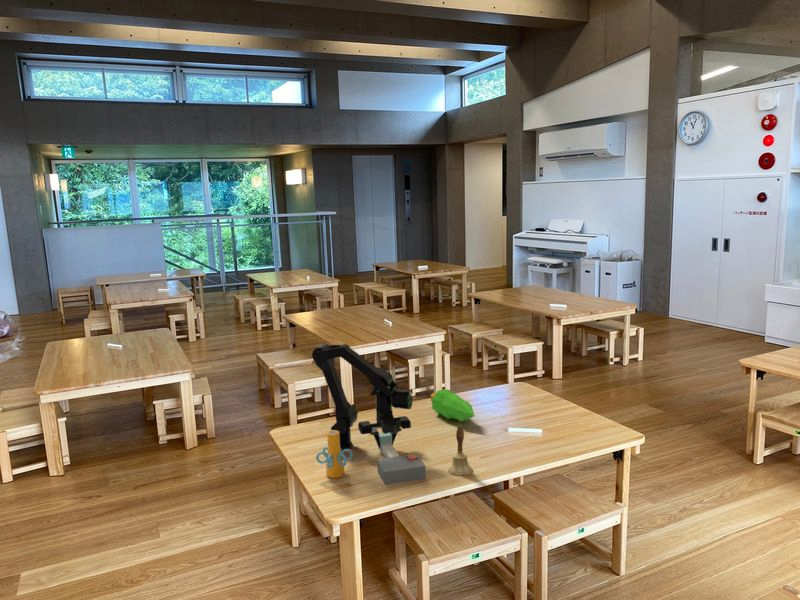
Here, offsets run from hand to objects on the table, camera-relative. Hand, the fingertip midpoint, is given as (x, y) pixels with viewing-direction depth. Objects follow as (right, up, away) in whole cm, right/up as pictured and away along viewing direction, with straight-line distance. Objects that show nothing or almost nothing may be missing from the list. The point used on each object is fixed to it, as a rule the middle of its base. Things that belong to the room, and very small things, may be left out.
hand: (385, 446), depth 221 cm
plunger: (+10, -3, -17) cm, 20 cm away
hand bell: (+26, -4, -18) cm, 32 cm away
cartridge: (+2, -2, -7) cm, 8 cm away
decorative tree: (+27, +4, +29) cm, 40 cm away
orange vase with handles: (-17, -5, -18) cm, 25 cm away
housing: (+6, -5, -20) cm, 22 cm away
